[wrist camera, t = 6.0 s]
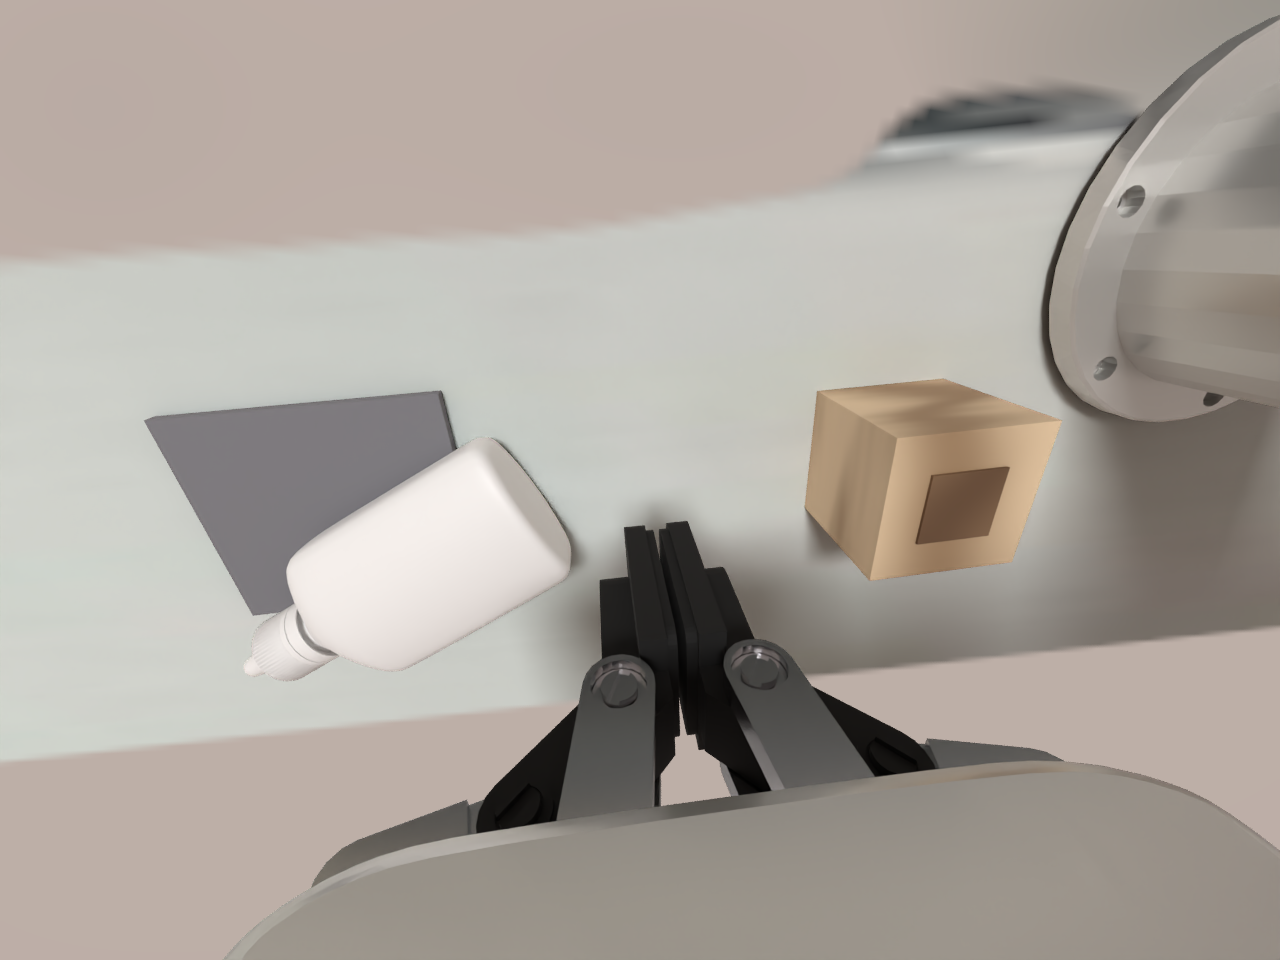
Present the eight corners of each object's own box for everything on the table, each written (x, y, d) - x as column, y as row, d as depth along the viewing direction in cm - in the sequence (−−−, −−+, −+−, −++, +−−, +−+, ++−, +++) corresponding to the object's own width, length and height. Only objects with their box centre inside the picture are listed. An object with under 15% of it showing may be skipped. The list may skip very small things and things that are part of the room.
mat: (440, 390, 16) (437, 393, 15) (489, 580, 19) (487, 586, 19) (154, 416, 15) (143, 420, 15) (259, 608, 19) (253, 615, 18)
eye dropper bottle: (559, 498, 20) (327, 634, 21) (473, 413, 15) (184, 589, 16) (587, 584, 17) (316, 738, 18) (491, 509, 13) (141, 716, 13)
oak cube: (941, 378, 18) (1065, 421, 13) (915, 493, 20) (1014, 563, 16) (816, 390, 18) (899, 439, 13) (803, 506, 20) (871, 582, 15)
